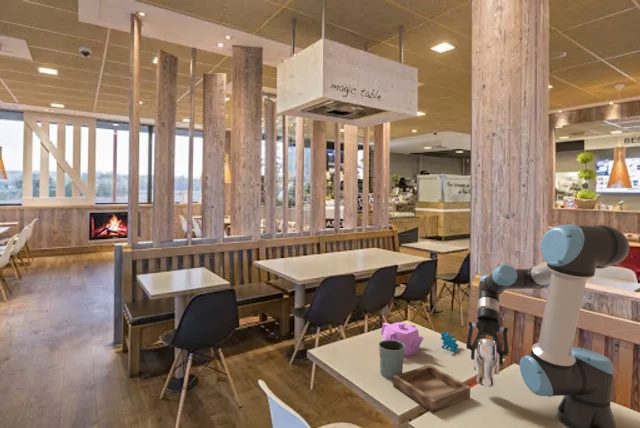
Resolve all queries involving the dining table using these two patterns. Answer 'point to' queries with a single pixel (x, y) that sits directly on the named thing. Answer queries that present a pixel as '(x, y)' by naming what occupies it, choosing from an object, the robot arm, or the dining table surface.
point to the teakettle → (403, 336)
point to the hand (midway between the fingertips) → (486, 370)
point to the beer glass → (486, 361)
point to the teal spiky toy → (449, 342)
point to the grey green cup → (391, 358)
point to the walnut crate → (431, 388)
